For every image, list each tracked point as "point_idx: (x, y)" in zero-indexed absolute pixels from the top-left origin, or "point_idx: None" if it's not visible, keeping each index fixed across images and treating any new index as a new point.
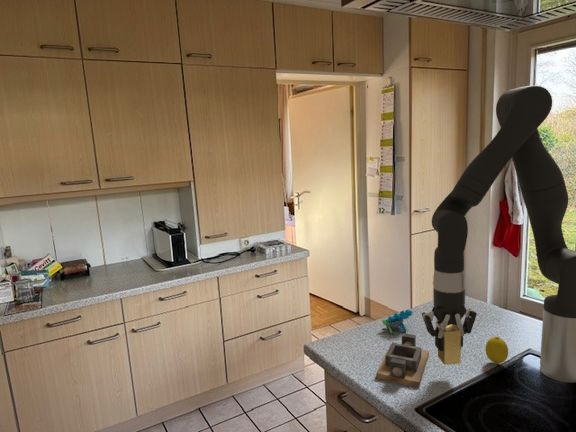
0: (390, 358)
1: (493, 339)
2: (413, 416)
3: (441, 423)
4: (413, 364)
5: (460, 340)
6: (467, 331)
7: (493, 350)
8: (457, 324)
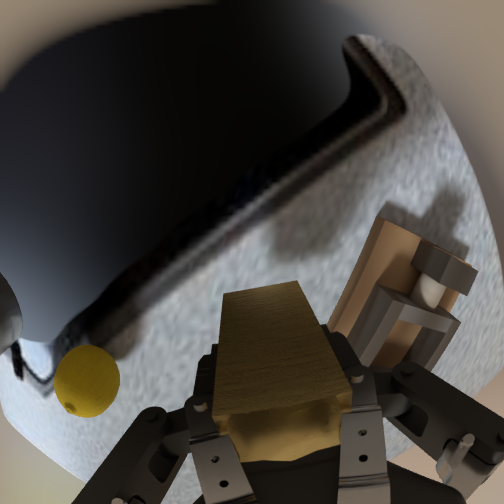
0: (448, 316)
1: (81, 406)
2: (411, 80)
3: (346, 44)
4: (395, 296)
5: (217, 363)
6: (160, 417)
7: (91, 371)
8: (236, 462)
